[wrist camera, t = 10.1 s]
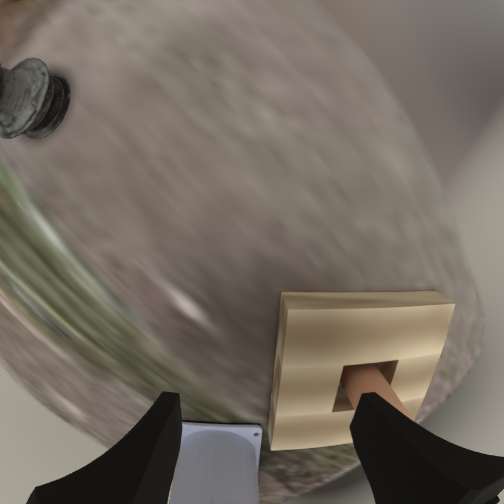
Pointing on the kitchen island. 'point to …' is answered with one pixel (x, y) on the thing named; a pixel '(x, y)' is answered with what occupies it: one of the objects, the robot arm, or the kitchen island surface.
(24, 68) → the chess piece
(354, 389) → the peg
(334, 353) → the socket block
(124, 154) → the kitchen island surface
